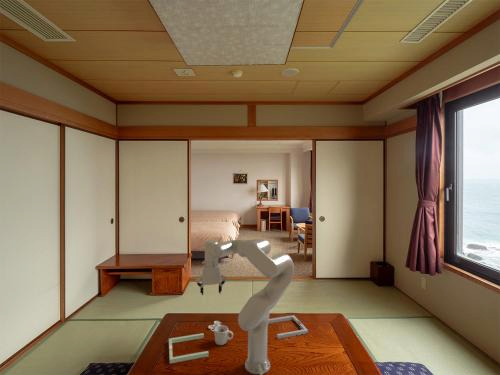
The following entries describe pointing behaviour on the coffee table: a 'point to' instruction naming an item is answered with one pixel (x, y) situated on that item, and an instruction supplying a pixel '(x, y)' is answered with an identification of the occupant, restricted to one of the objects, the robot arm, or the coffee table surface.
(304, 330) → the grey u-frame
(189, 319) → the coffee table surface
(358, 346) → the coffee table surface
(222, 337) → the cup
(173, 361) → the mint green u-frame
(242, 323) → the robot arm
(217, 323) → the white curved piece
